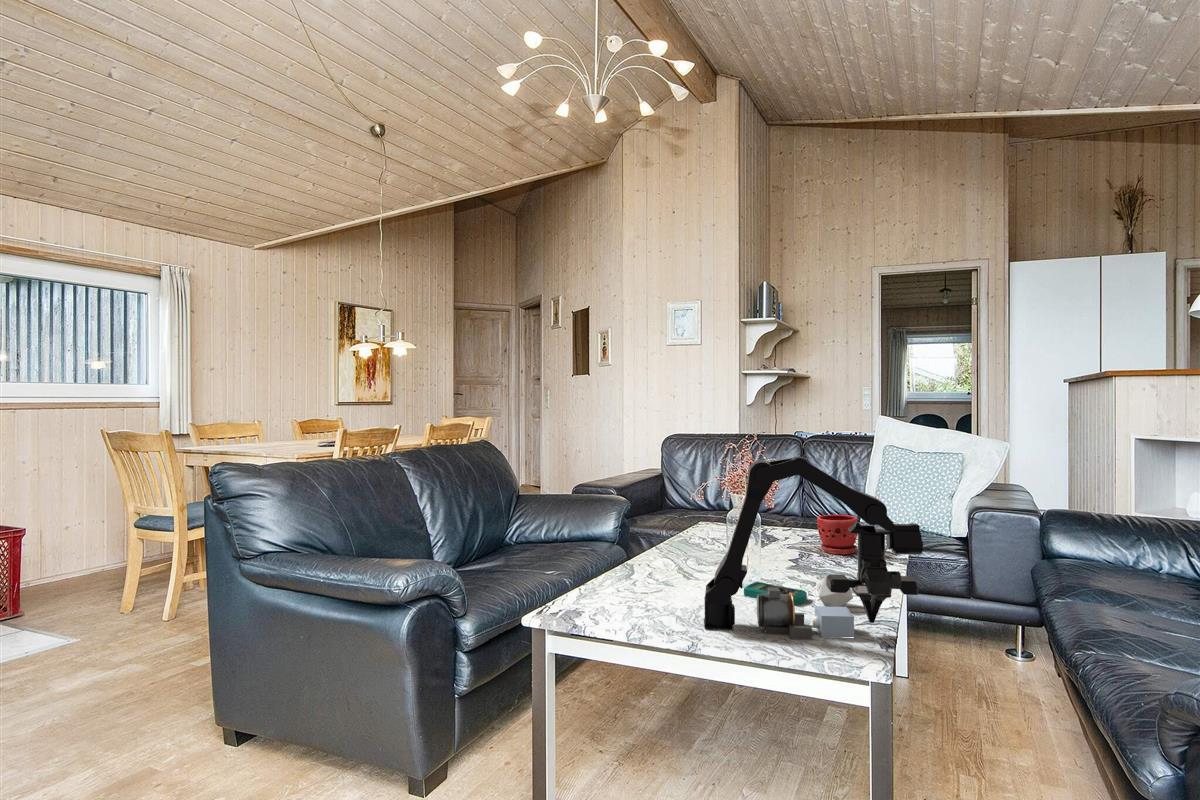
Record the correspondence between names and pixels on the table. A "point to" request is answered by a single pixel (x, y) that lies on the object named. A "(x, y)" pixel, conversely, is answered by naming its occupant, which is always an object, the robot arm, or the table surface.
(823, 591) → the die
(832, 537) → the plant pot
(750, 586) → the digital multimeter
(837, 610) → the blue-gray block
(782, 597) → the cylinder
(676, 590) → the table surface
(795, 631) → the clip bracket
